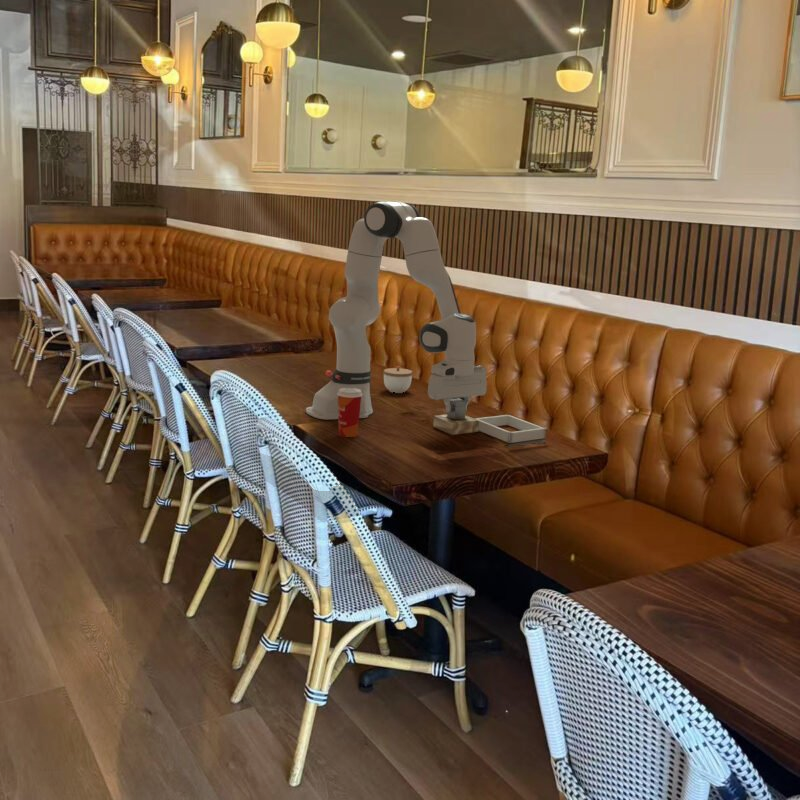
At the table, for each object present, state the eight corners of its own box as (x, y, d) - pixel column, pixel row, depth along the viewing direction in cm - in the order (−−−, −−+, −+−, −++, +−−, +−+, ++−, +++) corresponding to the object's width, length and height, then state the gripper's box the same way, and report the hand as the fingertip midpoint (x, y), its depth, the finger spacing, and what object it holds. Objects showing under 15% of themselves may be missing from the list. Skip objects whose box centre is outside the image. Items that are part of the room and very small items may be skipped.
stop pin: (453, 430, 269) (455, 402, 267) (446, 427, 272) (448, 399, 270) (464, 429, 271) (466, 401, 269) (456, 426, 274) (458, 398, 272)
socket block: (451, 439, 265) (452, 423, 264) (433, 431, 274) (433, 415, 272) (477, 436, 271) (478, 420, 269) (458, 428, 279) (459, 412, 278)
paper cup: (335, 431, 268) (336, 386, 264) (360, 432, 268) (362, 387, 265) (335, 438, 260) (337, 392, 257) (361, 439, 261) (363, 393, 258)
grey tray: (508, 447, 260) (510, 433, 259) (472, 432, 274) (473, 418, 273) (544, 442, 267) (545, 428, 266) (507, 428, 282) (508, 414, 281)
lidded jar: (399, 395, 319) (401, 370, 317) (376, 390, 325) (377, 366, 323) (417, 391, 327) (418, 367, 325) (394, 386, 333) (395, 362, 331)
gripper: (480, 363, 275) (477, 405, 278) (426, 367, 264) (423, 411, 268) (492, 367, 270) (489, 410, 273) (438, 371, 259) (435, 416, 263)
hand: (456, 410), depth 270 cm, fingers closed on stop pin, 4 cm apart
